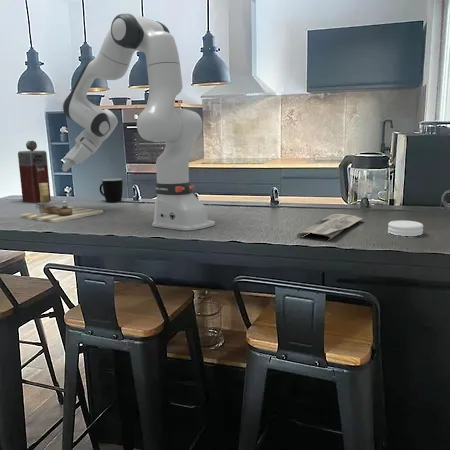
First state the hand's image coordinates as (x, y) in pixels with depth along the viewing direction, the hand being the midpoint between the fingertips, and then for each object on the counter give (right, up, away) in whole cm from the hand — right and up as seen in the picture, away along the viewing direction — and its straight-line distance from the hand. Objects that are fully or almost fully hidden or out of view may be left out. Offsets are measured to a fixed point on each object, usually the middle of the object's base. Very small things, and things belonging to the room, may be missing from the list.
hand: (63, 170), depth 187 cm
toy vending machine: (-23, -11, +35) cm, 43 cm away
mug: (+11, -11, +32) cm, 35 cm away
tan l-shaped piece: (-1, -17, -4) cm, 17 cm away
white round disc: (+119, -25, -43) cm, 128 cm away
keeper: (0, -18, -7) cm, 19 cm away
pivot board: (0, -18, -2) cm, 18 cm away
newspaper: (+98, -24, -35) cm, 107 cm away
